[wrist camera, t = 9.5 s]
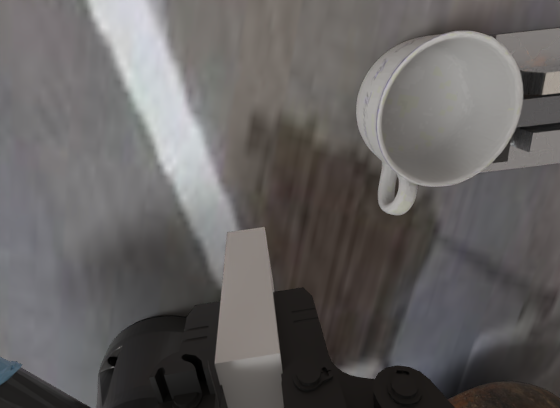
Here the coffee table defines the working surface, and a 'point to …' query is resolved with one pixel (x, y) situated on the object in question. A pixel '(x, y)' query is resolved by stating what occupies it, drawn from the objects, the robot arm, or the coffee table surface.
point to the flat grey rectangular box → (536, 80)
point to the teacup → (438, 111)
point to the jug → (505, 396)
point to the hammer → (535, 115)
